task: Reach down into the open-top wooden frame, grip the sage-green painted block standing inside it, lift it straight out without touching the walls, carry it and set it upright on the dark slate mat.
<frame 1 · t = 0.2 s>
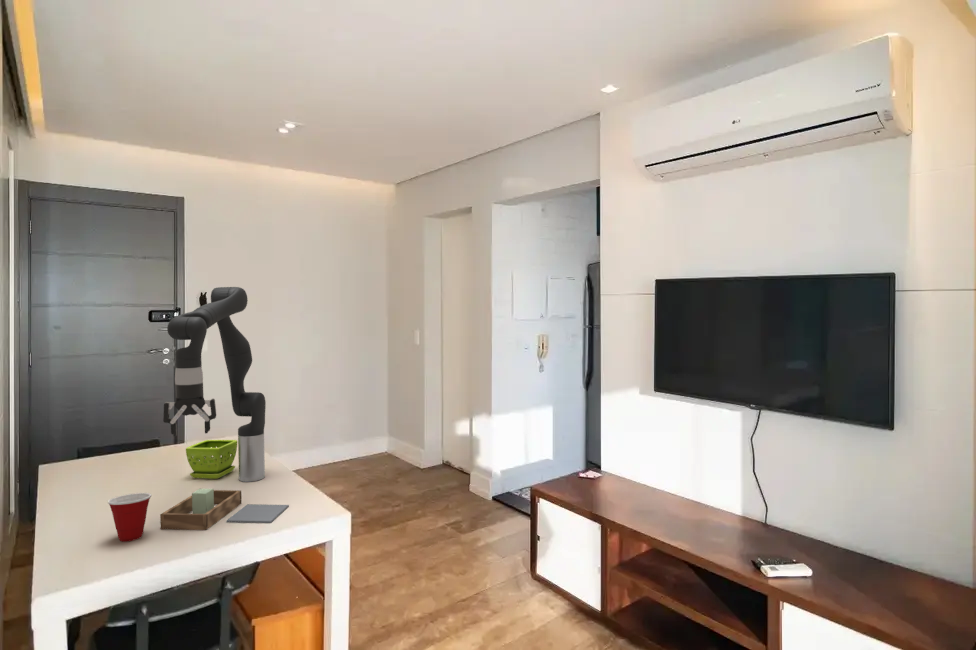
hand: (190, 434, 174), 27 cm above the table, fingers open, 8 cm apart
slate mat: (258, 514, 182), on the table
sage block: (203, 503, 180), in the wooden frame
flower pot: (212, 476, 222), on the table
plastic cup: (130, 538, 164), on the table
wooden frame: (203, 515, 180), on the table
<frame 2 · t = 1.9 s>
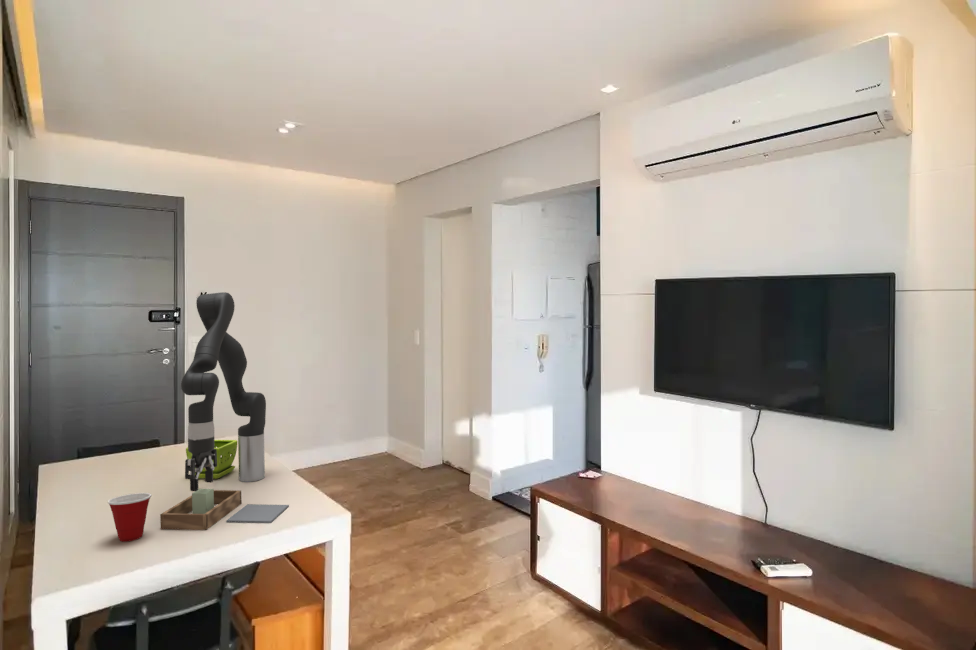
hand: (201, 486, 180), 9 cm above the table, fingers open, 8 cm apart
nothing on the table moved.
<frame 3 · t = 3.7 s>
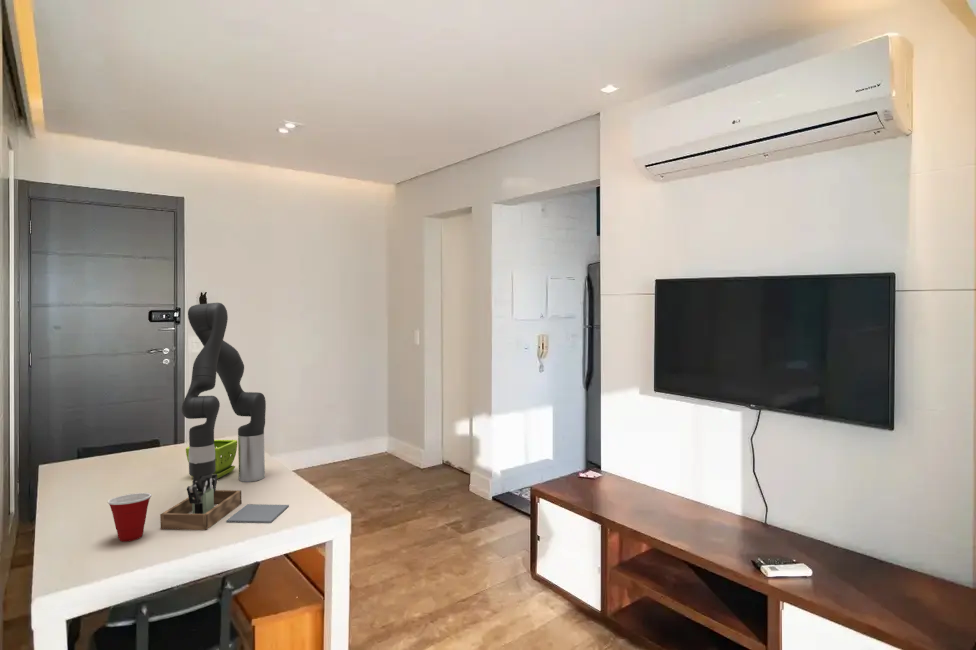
hand: (203, 511, 180), 1 cm above the table, fingers closed on sage block, 4 cm apart
sage block: (203, 503, 180), in the wooden frame, touching gripper
everything else where it was.
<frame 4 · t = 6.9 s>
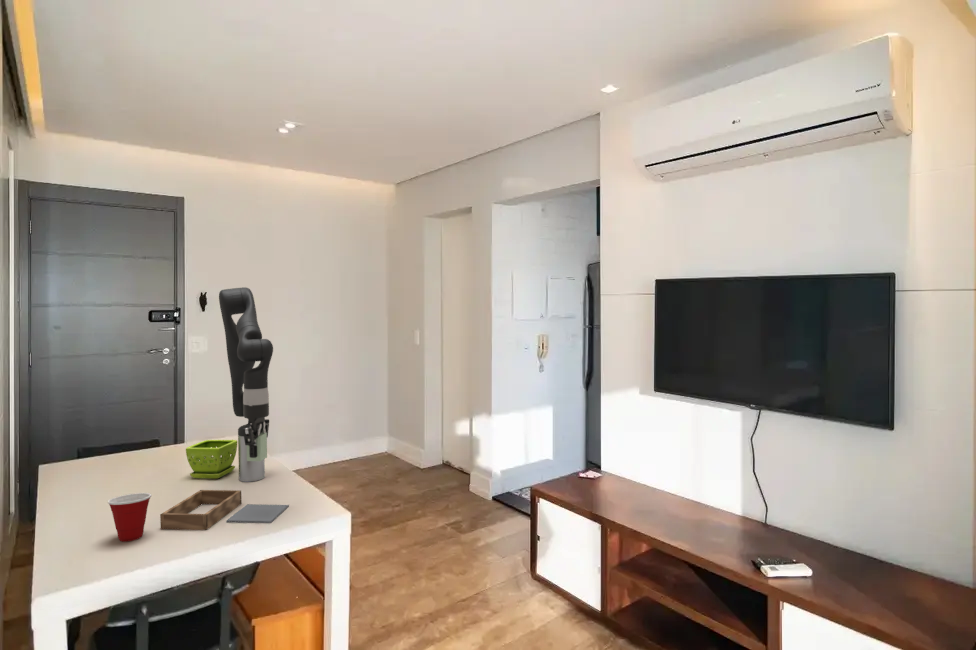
hand: (257, 454, 181), 19 cm above the table, fingers closed on sage block, 4 cm apart
sage block: (256, 446, 181), point 22 cm above the table, touching gripper
everything else where it was.
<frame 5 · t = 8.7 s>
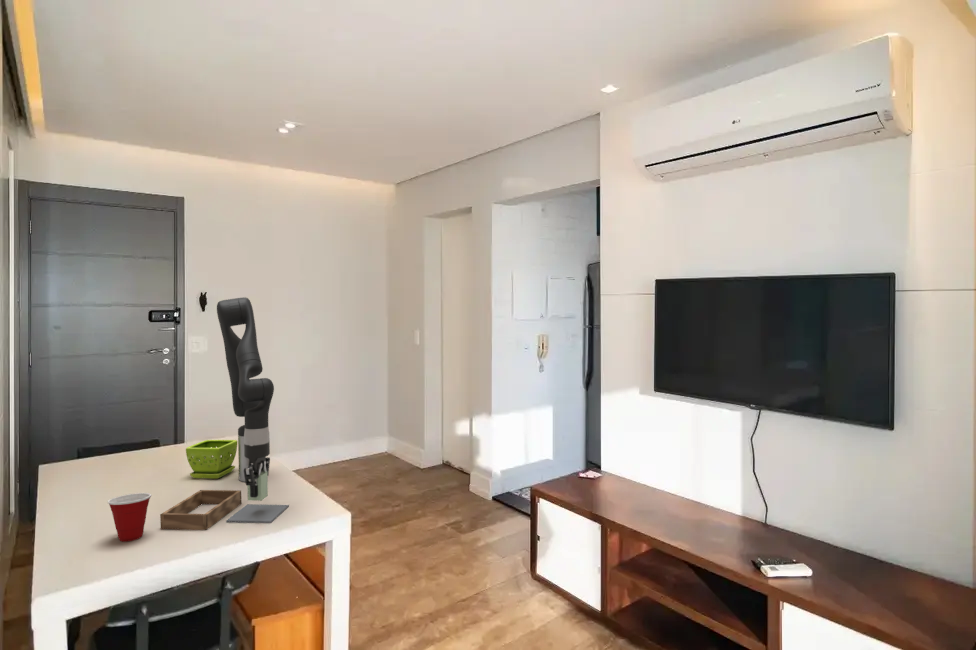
hand: (257, 494, 181), 7 cm above the table, fingers closed on sage block, 4 cm apart
sage block: (257, 485, 181), point 9 cm above the table, touching gripper
everything else where it was.
when the fingers open (3 cm above the table, at t = 10.2 s): sage block drops 1 cm, resting on slate mat.
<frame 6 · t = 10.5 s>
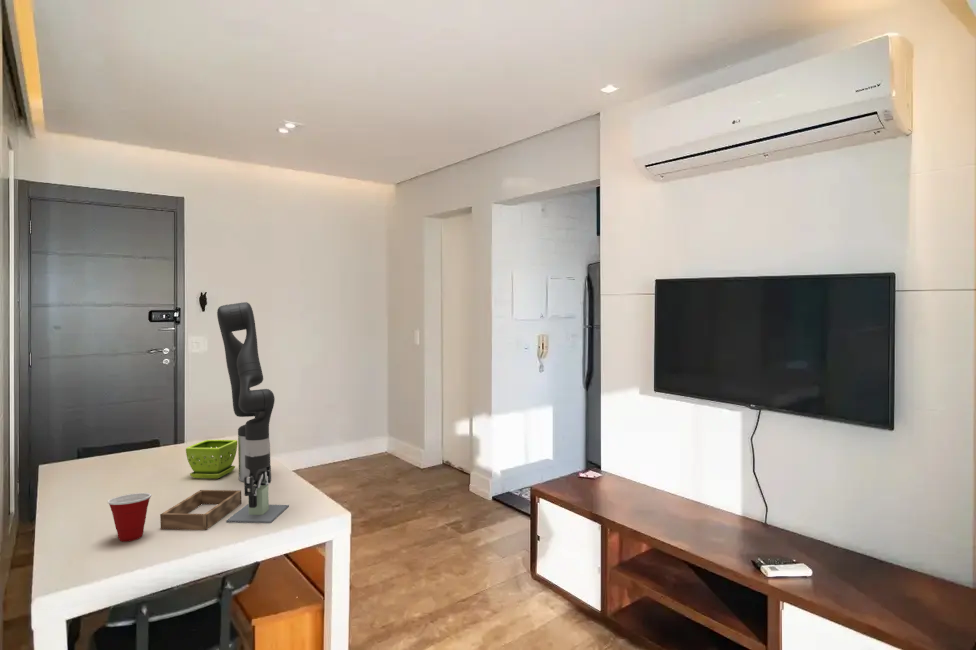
hand: (258, 502, 181), 4 cm above the table, fingers open, 7 cm apart
sage block: (258, 499, 182), on the slate mat, point 5 cm above the table
everything else where it was.
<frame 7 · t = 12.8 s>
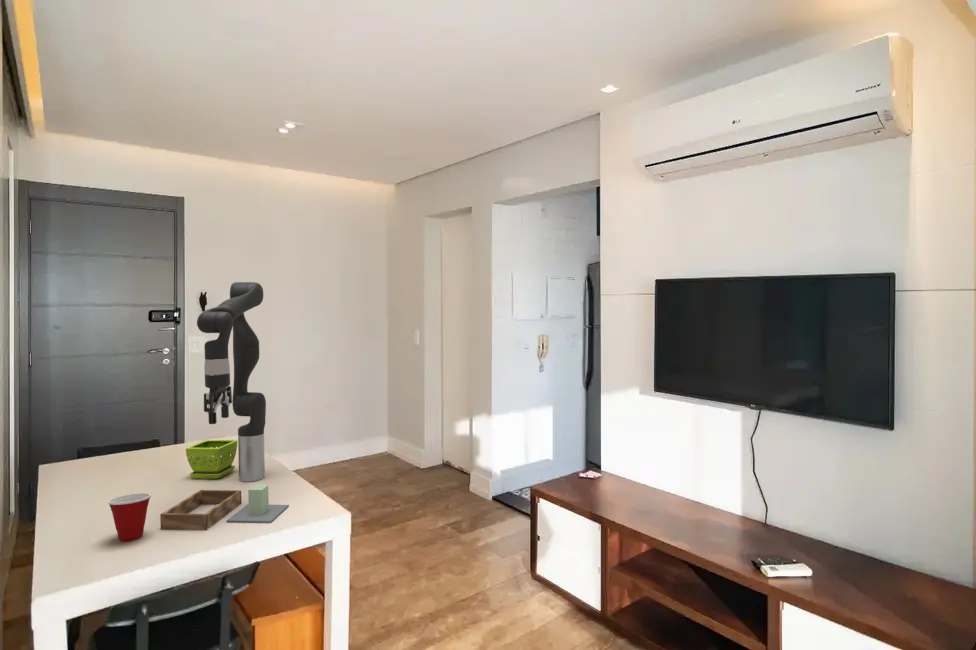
hand: (219, 420, 188), 29 cm above the table, fingers open, 8 cm apart
nothing on the table moved.
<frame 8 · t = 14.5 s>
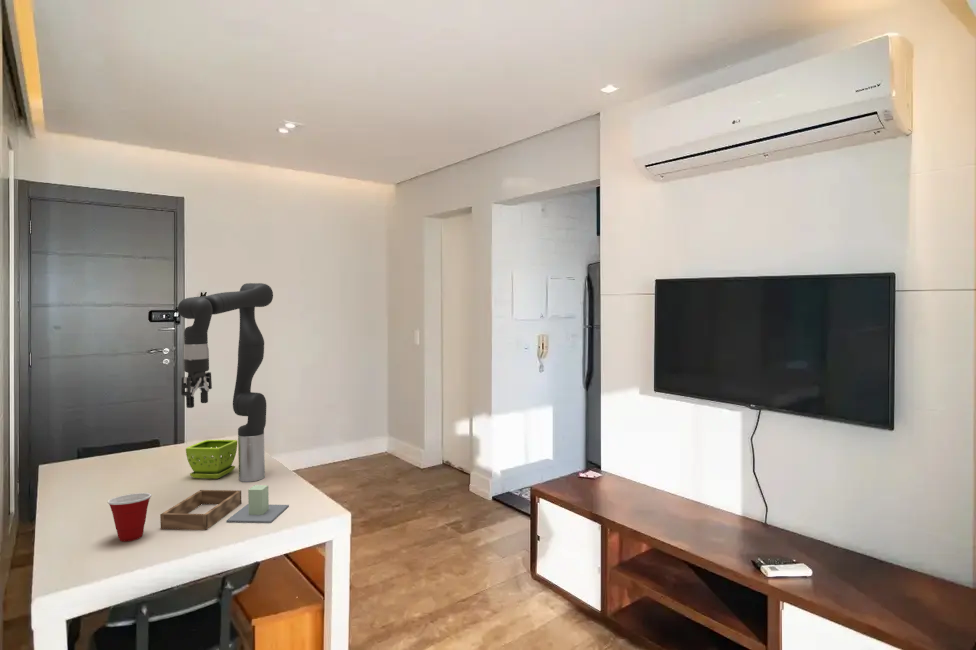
hand: (197, 405, 191), 33 cm above the table, fingers open, 8 cm apart
nothing on the table moved.
at the end: sage block inside the target area on the slate mat (0.2 cm from its centre), point 4.6 cm above the slate mat's base; sage block tilted 0°; the gripper is holding nothing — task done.
